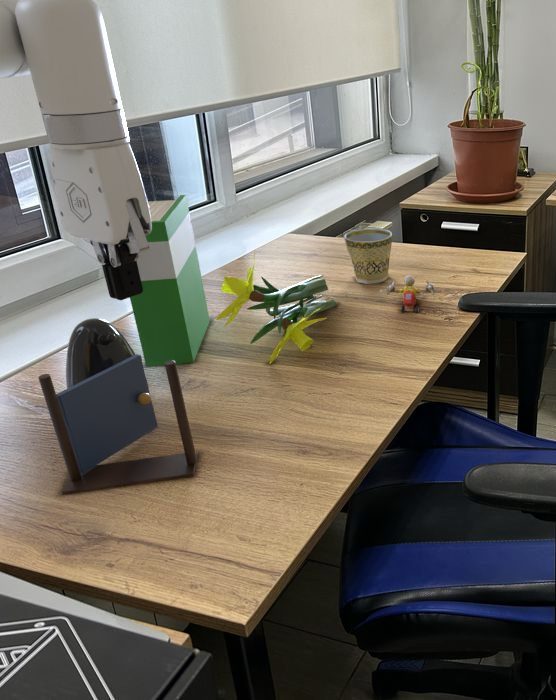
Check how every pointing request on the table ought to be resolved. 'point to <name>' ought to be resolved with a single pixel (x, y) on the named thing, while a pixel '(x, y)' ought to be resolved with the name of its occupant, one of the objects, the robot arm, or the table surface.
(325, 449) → the table surface
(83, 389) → the door
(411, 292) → the toy airplane
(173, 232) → the hardback book
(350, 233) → the ceramic cup
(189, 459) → the door frame
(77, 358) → the dark grey rounded dome
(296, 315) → the daffodil flowers
